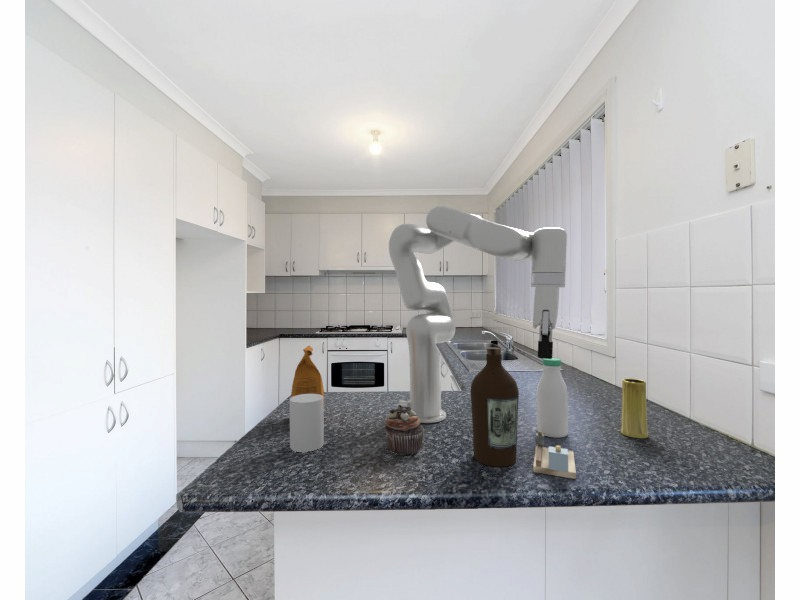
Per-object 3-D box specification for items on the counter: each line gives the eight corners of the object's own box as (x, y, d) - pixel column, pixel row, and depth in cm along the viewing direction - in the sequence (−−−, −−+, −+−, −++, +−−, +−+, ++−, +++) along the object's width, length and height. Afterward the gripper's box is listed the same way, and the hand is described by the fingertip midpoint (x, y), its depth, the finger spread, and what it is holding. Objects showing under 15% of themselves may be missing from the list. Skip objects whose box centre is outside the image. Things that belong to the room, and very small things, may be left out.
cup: (329, 442, 92) (329, 395, 92) (312, 455, 85) (311, 403, 84) (302, 438, 95) (302, 392, 95) (283, 450, 87) (282, 400, 87)
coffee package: (325, 412, 116) (325, 344, 116) (323, 426, 104) (323, 349, 104) (293, 414, 114) (293, 345, 114) (288, 428, 102) (287, 350, 102)
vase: (645, 432, 97) (645, 379, 97) (650, 440, 92) (650, 384, 91) (619, 429, 100) (619, 377, 100) (622, 436, 94) (622, 382, 94)
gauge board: (533, 471, 75) (533, 447, 75) (535, 451, 86) (535, 430, 86) (575, 478, 72) (575, 454, 72) (573, 456, 82) (573, 434, 82)
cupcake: (417, 459, 82) (417, 415, 82) (378, 453, 85) (378, 411, 85) (429, 443, 91) (428, 403, 91) (393, 438, 94) (393, 400, 94)
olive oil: (463, 450, 86) (462, 346, 86) (504, 446, 89) (503, 344, 89) (483, 471, 76) (482, 352, 76) (528, 465, 78) (528, 350, 78)
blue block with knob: (548, 469, 73) (548, 447, 73) (549, 462, 76) (548, 442, 76) (568, 472, 72) (568, 450, 72) (567, 465, 75) (567, 445, 75)
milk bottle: (571, 439, 92) (570, 361, 92) (539, 437, 94) (539, 360, 94) (564, 428, 100) (563, 356, 100) (534, 427, 102) (534, 356, 102)
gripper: (533, 281, 94) (530, 351, 94) (528, 279, 80) (525, 361, 81) (564, 282, 91) (562, 354, 91) (565, 280, 77) (562, 365, 78)
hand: (544, 357), depth 86 cm, fingers closed
